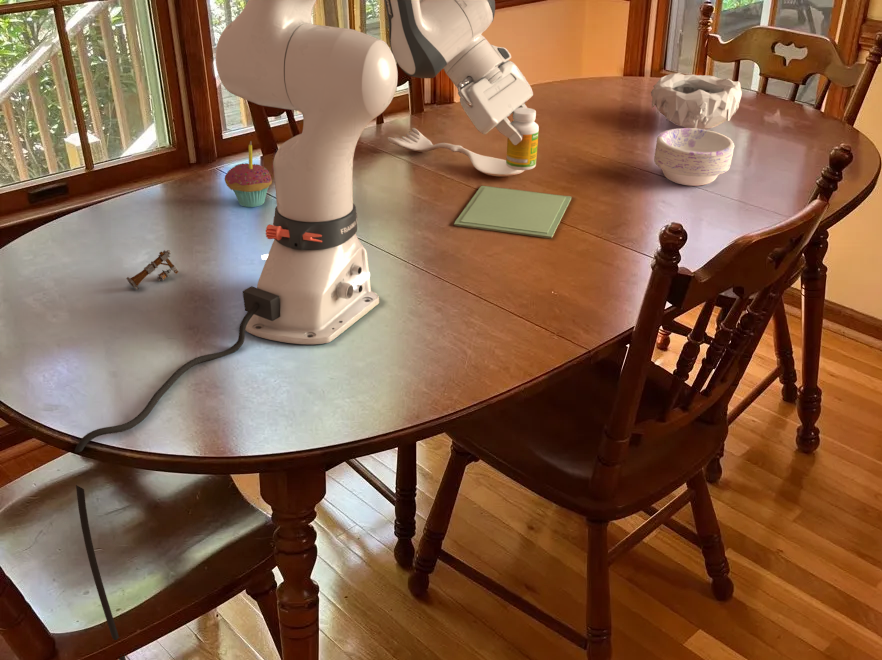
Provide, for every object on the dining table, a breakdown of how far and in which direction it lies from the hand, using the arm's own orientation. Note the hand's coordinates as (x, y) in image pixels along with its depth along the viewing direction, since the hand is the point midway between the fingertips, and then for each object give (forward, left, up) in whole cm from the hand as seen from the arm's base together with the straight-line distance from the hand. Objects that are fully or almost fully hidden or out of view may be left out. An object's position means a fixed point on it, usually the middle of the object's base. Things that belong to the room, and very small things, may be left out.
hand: (526, 136), depth 162 cm
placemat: (+1, +1, -14) cm, 15 cm away
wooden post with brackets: (-46, +49, -15) cm, 69 cm away
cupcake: (-11, +49, -15) cm, 53 cm away
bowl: (+66, -27, -15) cm, 73 cm away
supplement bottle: (0, +1, -6) cm, 6 cm away
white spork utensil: (+23, +19, -15) cm, 33 cm away
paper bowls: (+30, -29, -15) cm, 44 cm away
